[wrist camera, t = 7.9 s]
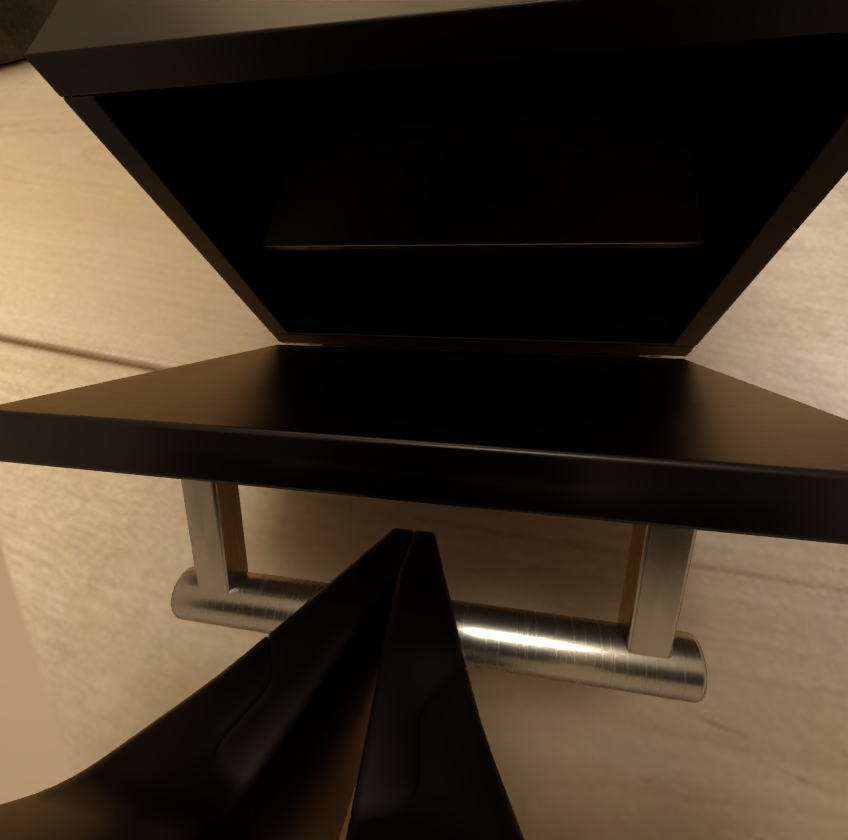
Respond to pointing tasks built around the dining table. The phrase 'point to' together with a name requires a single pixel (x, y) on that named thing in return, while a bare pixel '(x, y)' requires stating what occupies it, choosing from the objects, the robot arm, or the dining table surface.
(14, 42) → the coffee table
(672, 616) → the oven door
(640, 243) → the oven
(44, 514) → the dining table surface
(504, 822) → the robot arm
